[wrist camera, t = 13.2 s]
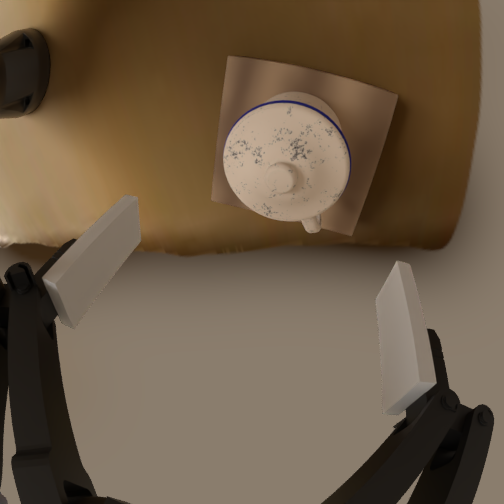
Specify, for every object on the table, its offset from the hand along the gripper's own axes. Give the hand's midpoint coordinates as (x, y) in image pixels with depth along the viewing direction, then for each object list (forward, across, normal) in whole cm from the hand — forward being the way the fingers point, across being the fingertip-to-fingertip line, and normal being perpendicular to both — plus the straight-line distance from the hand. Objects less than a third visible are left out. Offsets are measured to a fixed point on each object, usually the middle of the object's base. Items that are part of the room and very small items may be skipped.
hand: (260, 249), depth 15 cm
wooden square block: (+21, 0, 0) cm, 21 cm away
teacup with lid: (+17, +1, 0) cm, 17 cm away
